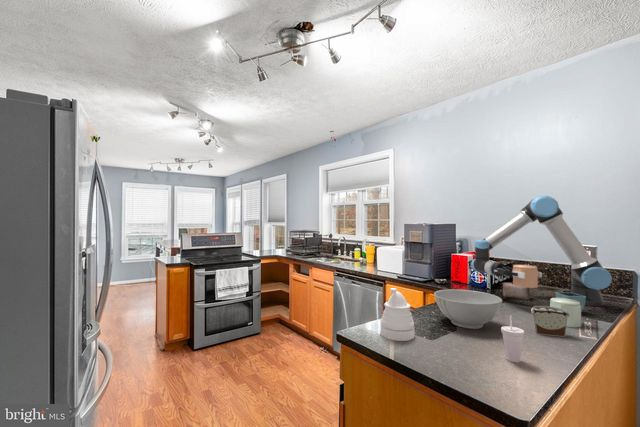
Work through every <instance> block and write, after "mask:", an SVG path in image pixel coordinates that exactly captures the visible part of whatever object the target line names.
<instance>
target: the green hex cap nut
mask: <svg viewBox="0 0 640 427" xmlns="http://www.w3.org/2000/svg"><path fill="white" fill-rule="evenodd" d="M549 307H555V308H560V309H564V310H566V311H568V313H569V316H567V325H566V328H581V327H582V311H581V305H580V302H579V301H576V300H572V299H566V298H556V297H552V298H550V300H549Z"/></svg>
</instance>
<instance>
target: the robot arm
mask: <svg viewBox="0 0 640 427" xmlns="http://www.w3.org/2000/svg"><path fill="white" fill-rule="evenodd" d="M563 215H564V212H563V211H562V210H561V208H560V207H559V203H558V201H557V200H556V199H555V198H554V197H552V196H550V195H539V196H537V197H535V198H533V199H531V200H530V201H529V202H528V204H526V205H525V206H523V208H522V209H520V210H519V213H517V214H516V215H515V216H513V217H512V218H511V219H509V220H508V221H507V222H504V224H503V225H501V226H499V227H498V228H497V229H496V230H494V231H493V232H491V233H490V234H488V235H487V236H486V237H485V238H483V239H476V240H475V241H474V259H472V261H471V263H470V268H471V270H473V271H475V272H478V273H483V274H488V275H490V276H496V277H497V276H498V277H503V276H505V277H508V278H513V276H514V277H519V278H525V273H523V272H517V271H513V266H512V267H510V266H506V264H505V263H503V262H500V261H499V262H498V261H492V260H490V251H491V250H493V249H494V248H495V247H496V246H498V245H499V244H501V243H502V242H503V241H505V240H507V239H508V238H509V237H511V236H512V235H514V234H515V233H517V232H518V231H520V230H521V229H523V228H524V227H525V226H527V225H528V224H530V223H534V222H536V221H538V223H539V224H540V225H544V226H545V227H546V229H547V230H548V231H549V233H550V234H551V236H552V237H553V239H554V240H555V241H556V243H557V244H558V246H559V247H560V248H561V250H562V251H563V253H564V254H565V256H566V257H567V258H568V260H569V261H570V262H571V264H570V267H571V268H570V270H571V272H570V274H571V288H570V290H569V293H576V294H579V295H582V296H585V297H586V301H585V306H592V307H603V306H604V305H605V300H604V298H603V295H602V293H601V291H600V290H604V289H606V288H608V287H610V285H611V284H612V281H613V280H612V275H611V273H610V272H609V270H608V269H606V268H604V267H603V266H602V264H601V263H600V262H599V260H598V258H594V257H592V256H591V255H590V254H589V252H588V251H587V249H586V248H585V247H584V245H583V244H582V243H581V241H580V240H579V238H578V237H577V236H576V235H575V233H574V232H573V230H572V229H571V228H570V226H569V224H568V223H567V222H566V221H565V220H564V217H563ZM542 277H543V274H542V272H541V271H538V278H540V279H541V278H542Z"/></svg>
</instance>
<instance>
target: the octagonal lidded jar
mask: <svg viewBox="0 0 640 427" xmlns="http://www.w3.org/2000/svg"><path fill="white" fill-rule="evenodd" d="M512 268H513V271H517V272H523V273H525V278H519V277H514V276H512V281H513V284H514V285H515V286H519V287H526V288H530V289H535V288H538V287H539V285H538V284H539V279H538V278H539V277H538V272H539V271H538V266H536V265H531V264H513V266H512Z"/></svg>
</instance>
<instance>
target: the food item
mask: <svg viewBox="0 0 640 427" xmlns="http://www.w3.org/2000/svg"><path fill="white" fill-rule="evenodd" d="M530 289H531V288H526V287H519V286H515V285H514V284H513V280H512V282H503V284H502V295H503V297H504V298H509V299H518V300H524V301H530V299H531V298H530V297H531V296H530Z"/></svg>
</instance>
